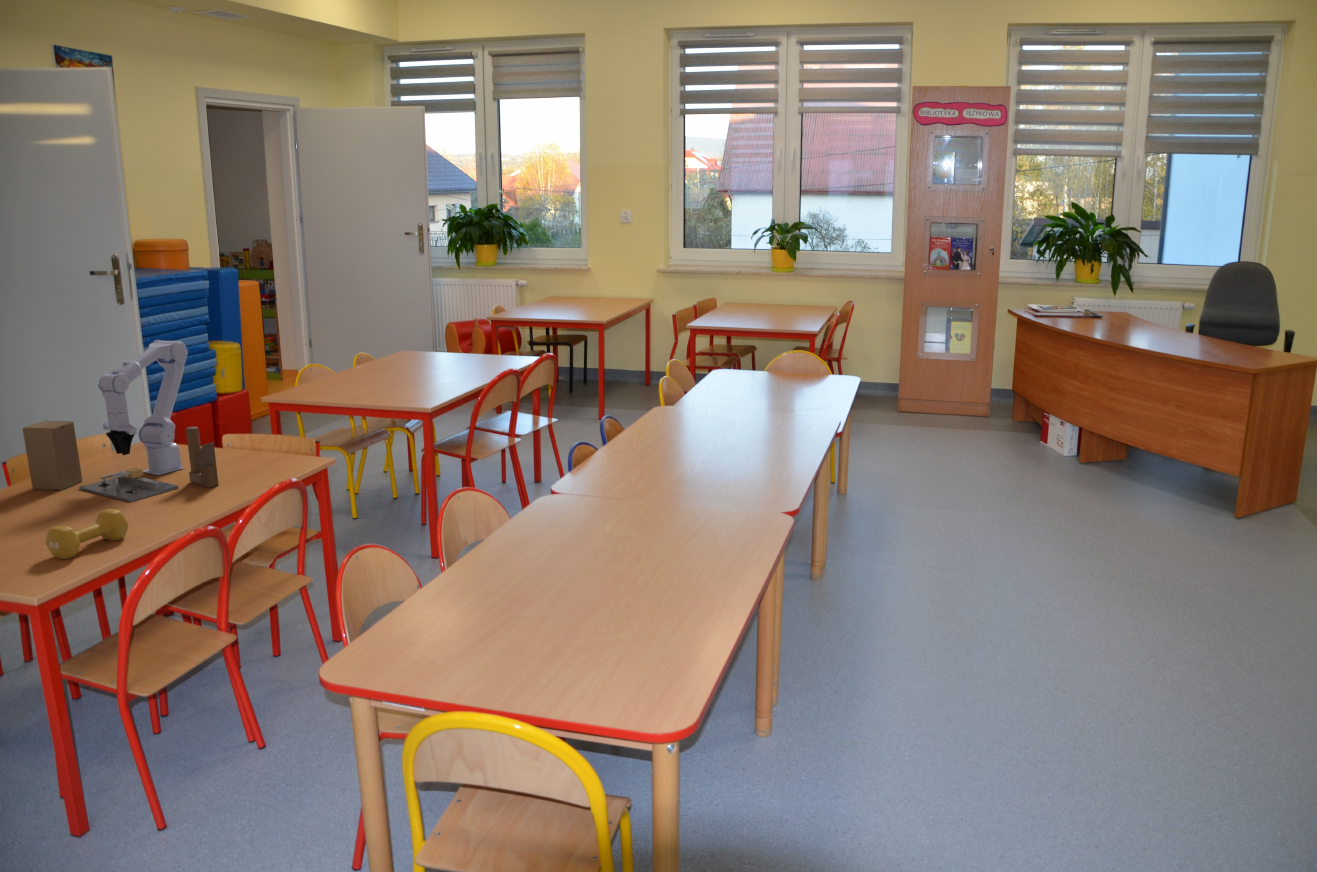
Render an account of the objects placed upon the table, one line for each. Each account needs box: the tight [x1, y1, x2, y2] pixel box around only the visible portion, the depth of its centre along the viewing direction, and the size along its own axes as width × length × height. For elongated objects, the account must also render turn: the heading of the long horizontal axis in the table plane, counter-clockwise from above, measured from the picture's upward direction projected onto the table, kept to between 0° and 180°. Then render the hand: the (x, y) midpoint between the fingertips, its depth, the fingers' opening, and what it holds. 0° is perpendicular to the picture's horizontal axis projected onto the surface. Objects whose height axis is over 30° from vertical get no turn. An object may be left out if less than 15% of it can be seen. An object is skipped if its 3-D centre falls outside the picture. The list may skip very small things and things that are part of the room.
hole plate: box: [78, 470, 179, 503], centre depth 303 cm, size 16×26×4 cm, turn 60°
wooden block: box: [22, 420, 83, 491], centre depth 304 cm, size 10×10×20 cm
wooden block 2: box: [185, 426, 220, 489], centre depth 306 cm, size 4×11×18 cm, turn 55°
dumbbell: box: [45, 508, 129, 560], centre depth 253 cm, size 19×9×8 cm, turn 158°
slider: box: [112, 467, 143, 487], centre depth 303 cm, size 8×3×4 cm, turn 150°
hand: (123, 453), depth 306 cm, fingers closed
